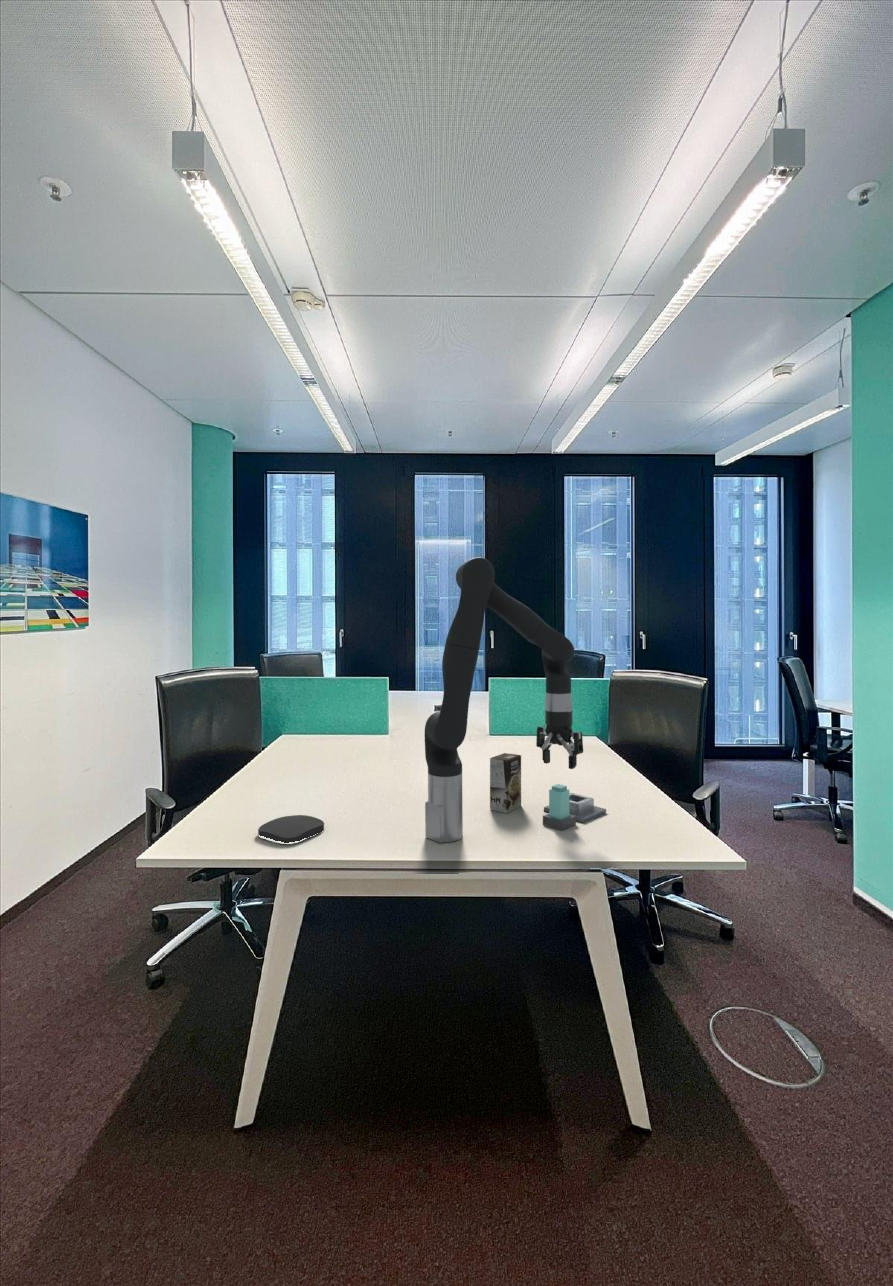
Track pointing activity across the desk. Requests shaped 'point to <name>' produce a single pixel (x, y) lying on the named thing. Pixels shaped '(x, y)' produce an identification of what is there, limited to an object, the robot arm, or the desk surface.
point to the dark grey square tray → (559, 822)
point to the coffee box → (505, 782)
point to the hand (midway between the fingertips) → (559, 765)
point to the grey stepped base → (582, 808)
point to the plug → (559, 802)
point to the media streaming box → (291, 828)
